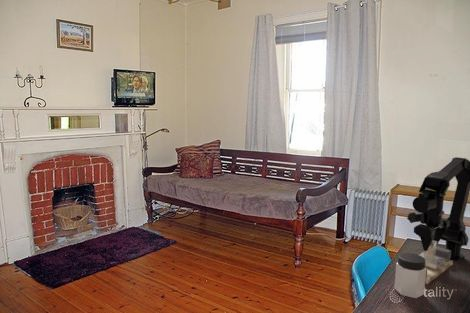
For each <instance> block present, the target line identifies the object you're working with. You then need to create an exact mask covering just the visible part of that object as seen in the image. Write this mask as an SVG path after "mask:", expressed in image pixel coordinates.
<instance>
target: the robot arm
mask: <svg viewBox="0 0 470 313" xmlns="http://www.w3.org/2000/svg"><path fill="white" fill-rule="evenodd" d="M454 178H455V180H456V183H457V184H456V188H455V192H454V196H453V201H452V203H451V204H452V205H451V209H450V212H449V213H450V214H449V216H448V217H447V218H445V217H443V215H445V211H444V210H443V209H444V201H445V199H444V198H445V197H446V195H447V194H446V192H447V191H448V189H449V187H450V185H451V183H450V182H451V180H452V179H454ZM418 192H419V193H418V196H417V197H414V199H413V200H412V207H413V209H414V210H415V211H416V212H409V213H408V215H407V218H406V219H407V220H408V221H409V223H410V224H413V223H419V224H417V225H415V226H414V227H413V233H414V234H415V235H417V236H418V237H419V238H420V241H421V246H422V250H423V252H424V251H427V250H428V248H429V246H430V244H431V243H432V241H433V240H435V241H437V245H438V244H439V243H440V241H445V245H444V247H445V248H444V249H448V250H451V256H450V259H453V260H457V261H460V260H461V259H462V258H464V254H462V248H463V247H464V246H468V242H469V237H468V235H467V232H466V229H467V228H466V225H465V222H464V217H465V213H466V209H467V203H468V200H469V196H470V160H469V159H468V158H466V157H456V156H455V157H453V158H452V159H451V161H450V162H449V163H448V164H446V165H445V166H444V167H442V168H441V169H440V170H439V171H434V172H430V173H429V174H427V175H426V176H425V177H424V179H423V181H422V183H421V185H420V188H419V190H418Z"/></svg>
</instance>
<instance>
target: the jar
mask: <svg viewBox="0 0 470 313" xmlns="http://www.w3.org/2000/svg"><path fill="white" fill-rule="evenodd" d="M394 275H395V277H394V289H395V290H396V291H397V292H398V293H399V294H400V296H404V297H409V298H414V299H417V298H420V297H421V296H423V295H424V294H425V285H426V283H425V277H426V268H425V259H424V258H423V257H421V256H419V254H417V253H416V254H415V253H413V252H401V253H399V254H398V256H397V262H396V263H395V274H394Z"/></svg>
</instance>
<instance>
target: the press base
mask: <svg viewBox="0 0 470 313" xmlns="http://www.w3.org/2000/svg"><path fill="white" fill-rule="evenodd" d="M435 256H437V257H440V258H444V259H445V262H444V264H443V265H442V266H441V267H439V268H438V269H437V270H435V269H432V268H429V267H426V266H425V268H426V277H425V285H428V284H430V283H431V282H432V281H433V280H435V279H436V278H437V277H439V276H440V275H441V274H442V273H444V272H445V271H446V270H447V269H448V268H450V267H451V266H453V264H454V261H453V260H451V258H450V256H451V250H448V249H445V248H443V247H441V246H440V247H439V246H437V245H436V255H435Z"/></svg>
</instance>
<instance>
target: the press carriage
mask: <svg viewBox="0 0 470 313" xmlns="http://www.w3.org/2000/svg"><path fill="white" fill-rule="evenodd" d="M437 245H438V244H437V241H435V240H433V241H432V243H431V244H430V246H429V248H428V250H427V251H424V250H423V251H421V253H420V254H418V255H419V256H421V257H423V258H424V259H425V266H426V267H429V268H432V269H435V270H437V269H438V268H439V267H441V266H442V265H443V264H444V262H445V259H444V258H440V257H437V256H435V255H436V246H437Z"/></svg>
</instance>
